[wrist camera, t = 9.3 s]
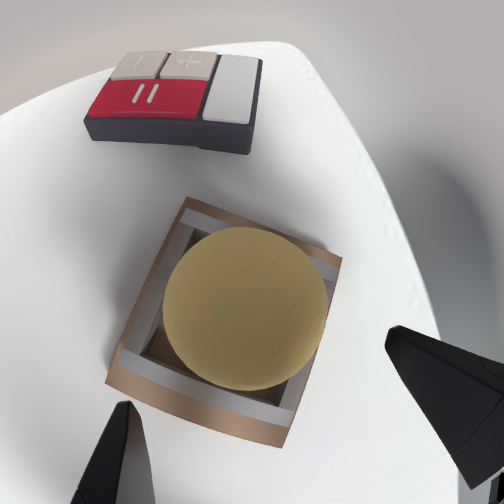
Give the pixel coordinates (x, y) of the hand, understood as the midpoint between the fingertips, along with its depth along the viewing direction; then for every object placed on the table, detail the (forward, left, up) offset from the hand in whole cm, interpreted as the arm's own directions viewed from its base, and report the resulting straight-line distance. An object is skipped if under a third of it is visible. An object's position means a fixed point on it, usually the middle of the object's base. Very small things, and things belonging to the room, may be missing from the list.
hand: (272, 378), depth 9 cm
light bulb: (+1, -2, -9) cm, 10 cm away
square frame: (+2, -2, -11) cm, 11 cm away
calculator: (+14, -19, -11) cm, 26 cm away
